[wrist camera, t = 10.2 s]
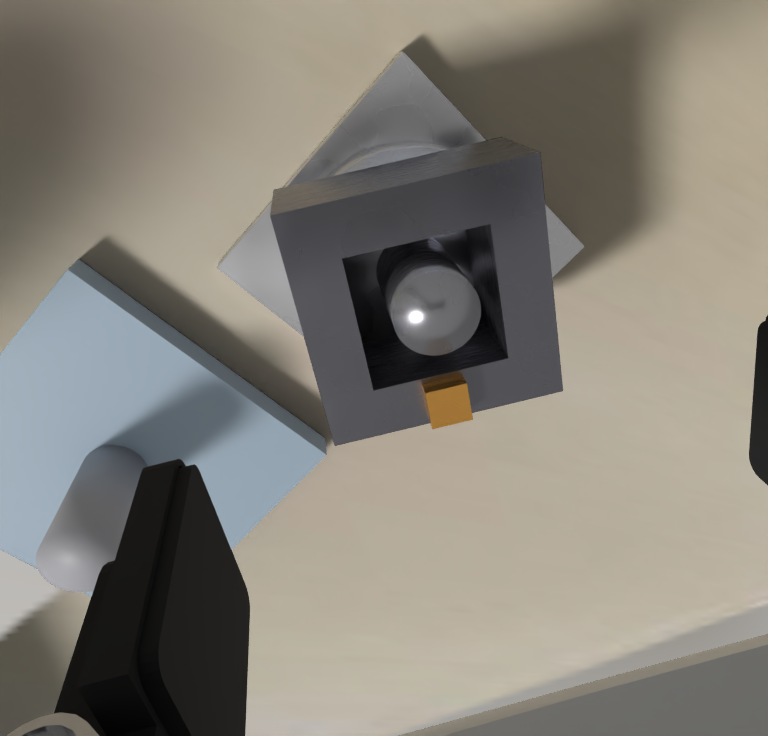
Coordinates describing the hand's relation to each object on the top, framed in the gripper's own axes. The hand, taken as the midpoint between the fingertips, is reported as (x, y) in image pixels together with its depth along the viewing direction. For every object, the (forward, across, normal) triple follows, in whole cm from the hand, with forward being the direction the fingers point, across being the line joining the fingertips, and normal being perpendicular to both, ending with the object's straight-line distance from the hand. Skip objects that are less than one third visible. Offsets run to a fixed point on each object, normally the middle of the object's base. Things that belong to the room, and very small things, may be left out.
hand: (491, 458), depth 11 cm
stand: (+14, +11, +6) cm, 19 cm away
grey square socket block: (+12, -1, +1) cm, 12 cm away
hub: (+14, -1, +1) cm, 14 cm away
